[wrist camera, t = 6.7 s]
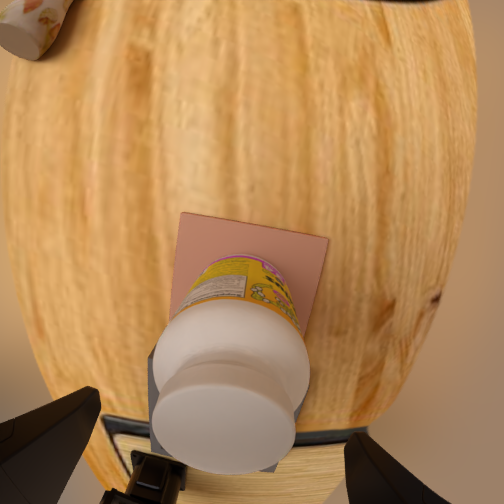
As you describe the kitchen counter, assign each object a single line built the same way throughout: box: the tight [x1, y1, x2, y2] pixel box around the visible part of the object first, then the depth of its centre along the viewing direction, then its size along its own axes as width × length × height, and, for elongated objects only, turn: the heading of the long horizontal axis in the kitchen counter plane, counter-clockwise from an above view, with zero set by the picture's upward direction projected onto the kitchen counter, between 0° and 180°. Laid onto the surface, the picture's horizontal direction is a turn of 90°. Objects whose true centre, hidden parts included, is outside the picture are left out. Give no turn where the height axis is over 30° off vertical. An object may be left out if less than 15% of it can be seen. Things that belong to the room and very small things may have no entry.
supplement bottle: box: [152, 254, 310, 475], centre depth 14 cm, size 7×7×13 cm
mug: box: [0, 0, 73, 61], centre depth 13 cm, size 8×10×10 cm
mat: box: [169, 212, 329, 338], centre depth 21 cm, size 10×10×1 cm
